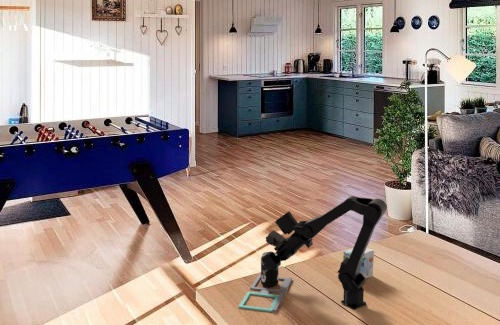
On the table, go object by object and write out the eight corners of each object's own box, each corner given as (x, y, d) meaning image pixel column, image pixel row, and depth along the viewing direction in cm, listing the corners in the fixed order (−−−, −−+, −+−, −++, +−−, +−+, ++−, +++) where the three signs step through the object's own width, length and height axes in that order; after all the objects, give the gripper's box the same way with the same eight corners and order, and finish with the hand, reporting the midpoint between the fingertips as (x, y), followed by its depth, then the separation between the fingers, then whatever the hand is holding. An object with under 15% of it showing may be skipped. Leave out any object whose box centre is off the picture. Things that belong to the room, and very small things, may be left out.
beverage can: (276, 288, 206) (277, 258, 203) (259, 287, 207) (259, 257, 204) (279, 281, 212) (279, 252, 209) (262, 280, 213) (262, 250, 211)
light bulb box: (354, 283, 210) (355, 256, 208) (341, 277, 216) (342, 251, 213) (373, 276, 217) (374, 250, 214) (360, 270, 222) (361, 245, 219)
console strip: (269, 277, 215) (269, 275, 215) (292, 280, 213) (292, 277, 213) (250, 309, 190) (250, 306, 190) (276, 312, 188) (276, 310, 188)
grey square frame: (258, 276, 217) (258, 274, 217) (288, 279, 214) (288, 278, 213) (250, 289, 205) (250, 287, 205) (281, 293, 202) (281, 291, 202)
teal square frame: (247, 292, 203) (247, 291, 202) (279, 296, 199) (279, 295, 199) (238, 307, 191) (238, 306, 191) (272, 312, 188) (272, 310, 188)
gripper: (290, 219, 210) (264, 241, 218) (267, 233, 194) (240, 257, 202) (308, 242, 208) (282, 264, 216) (287, 259, 192) (259, 282, 200)
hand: (266, 266), depth 209 cm, fingers closed on beverage can, 7 cm apart
